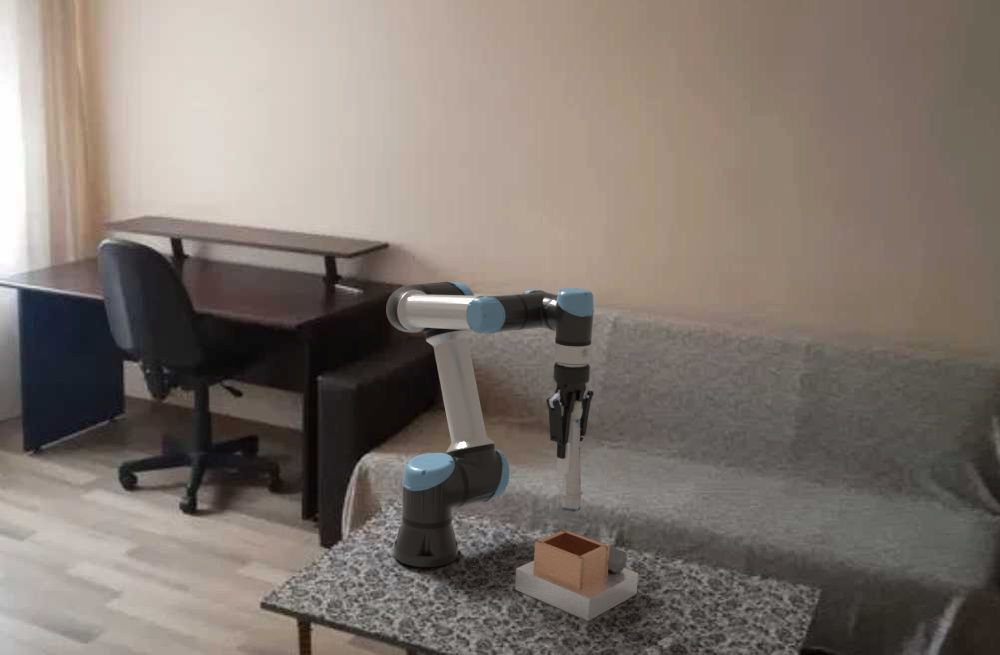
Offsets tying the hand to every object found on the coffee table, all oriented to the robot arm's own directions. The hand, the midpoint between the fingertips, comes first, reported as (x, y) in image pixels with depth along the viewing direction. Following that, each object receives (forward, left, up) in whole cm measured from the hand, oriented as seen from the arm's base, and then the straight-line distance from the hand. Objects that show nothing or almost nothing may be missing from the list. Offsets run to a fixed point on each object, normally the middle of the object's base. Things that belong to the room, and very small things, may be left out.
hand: (566, 470), depth 218 cm
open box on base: (+1, +5, -29) cm, 29 cm away
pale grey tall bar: (0, 0, -9) cm, 9 cm away
